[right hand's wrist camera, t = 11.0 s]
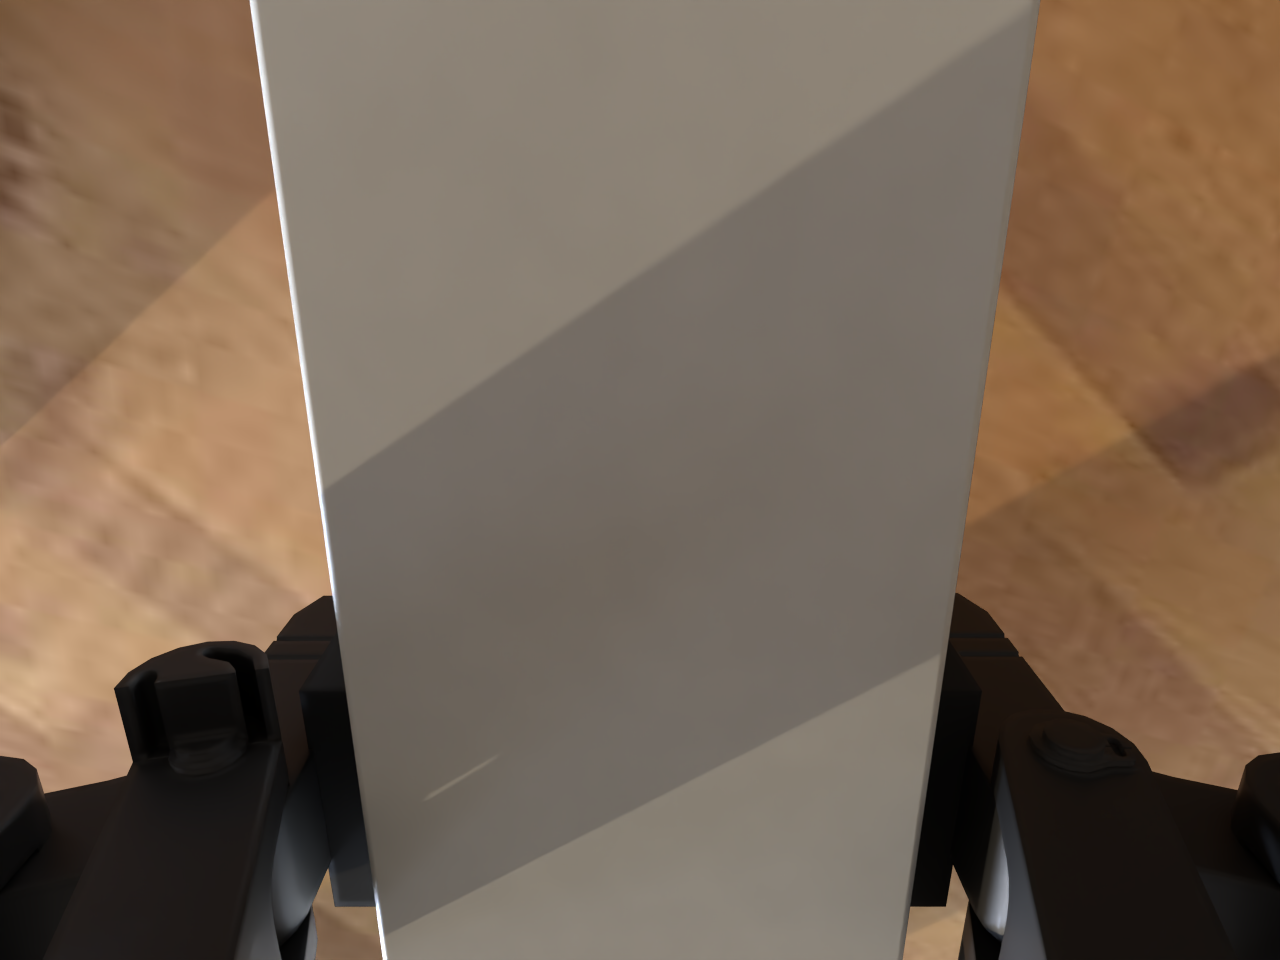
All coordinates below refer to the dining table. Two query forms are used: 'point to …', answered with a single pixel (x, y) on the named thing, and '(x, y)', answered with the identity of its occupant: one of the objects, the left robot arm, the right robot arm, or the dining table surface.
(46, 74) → the dining table surface
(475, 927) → the post
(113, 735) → the dining table surface
